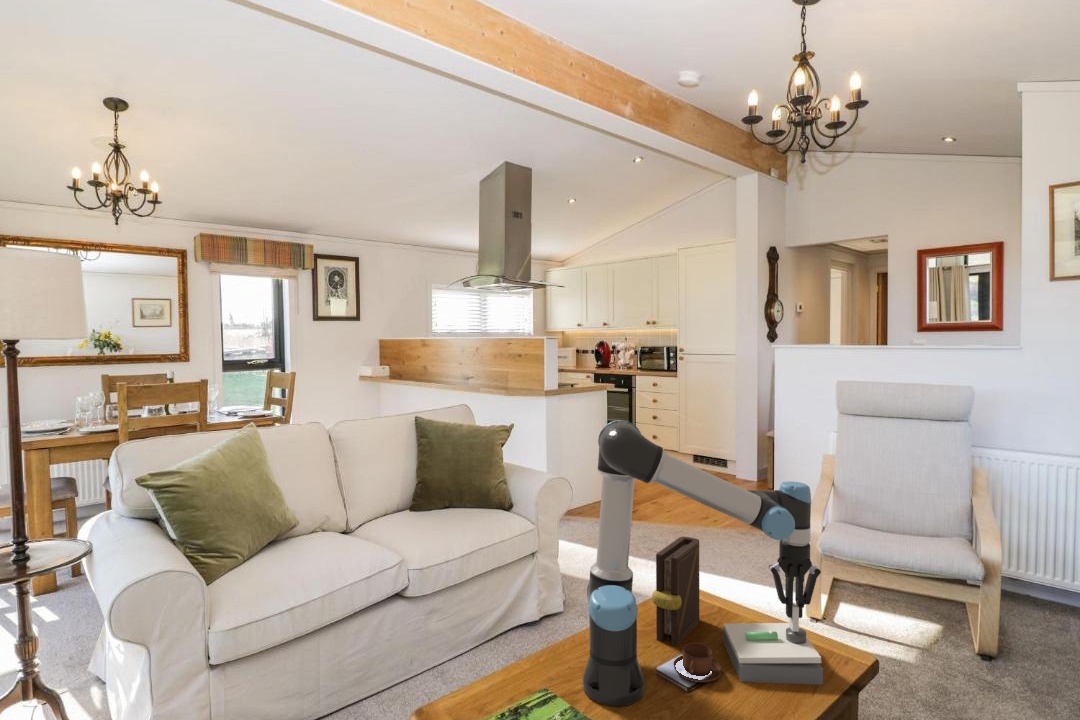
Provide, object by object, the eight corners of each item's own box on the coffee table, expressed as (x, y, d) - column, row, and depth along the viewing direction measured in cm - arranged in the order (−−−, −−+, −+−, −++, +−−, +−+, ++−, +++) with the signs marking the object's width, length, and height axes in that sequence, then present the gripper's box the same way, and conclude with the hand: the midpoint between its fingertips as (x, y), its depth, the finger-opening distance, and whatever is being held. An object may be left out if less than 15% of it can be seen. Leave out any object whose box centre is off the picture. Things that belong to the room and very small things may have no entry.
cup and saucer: (724, 689, 144) (723, 665, 144) (674, 684, 147) (674, 660, 147) (719, 663, 156) (719, 640, 156) (673, 659, 159) (673, 636, 158)
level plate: (739, 663, 148) (738, 649, 148) (723, 628, 166) (723, 615, 166) (821, 663, 146) (820, 648, 146) (796, 628, 164) (795, 615, 164)
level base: (740, 681, 147) (740, 666, 147) (722, 641, 167) (722, 627, 167) (822, 684, 146) (823, 669, 145) (795, 643, 165) (795, 629, 165)
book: (678, 613, 185) (678, 535, 184) (705, 620, 180) (704, 540, 179) (648, 642, 167) (648, 556, 166) (676, 651, 162) (676, 562, 161)
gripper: (815, 537, 158) (814, 623, 159) (765, 536, 159) (764, 621, 160) (826, 546, 151) (825, 637, 151) (773, 545, 152) (772, 635, 152)
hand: (793, 628), depth 156 cm, fingers closed
